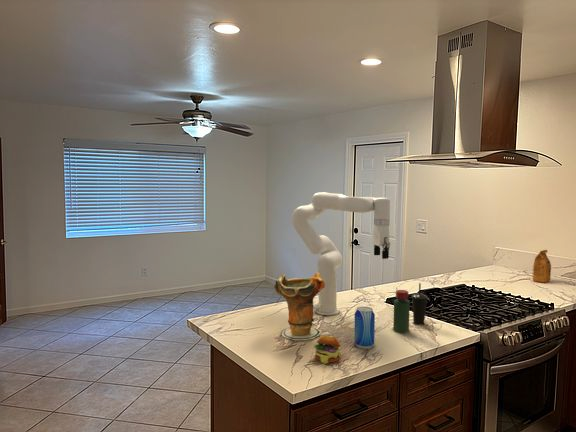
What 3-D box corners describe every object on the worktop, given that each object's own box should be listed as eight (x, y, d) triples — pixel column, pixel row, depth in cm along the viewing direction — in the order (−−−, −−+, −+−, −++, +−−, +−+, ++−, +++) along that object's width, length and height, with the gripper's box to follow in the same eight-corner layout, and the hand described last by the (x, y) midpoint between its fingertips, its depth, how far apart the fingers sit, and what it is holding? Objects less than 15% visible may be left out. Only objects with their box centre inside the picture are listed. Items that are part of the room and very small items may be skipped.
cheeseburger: (310, 362, 159) (312, 335, 161) (318, 358, 169) (319, 332, 170) (336, 365, 155) (337, 338, 157) (342, 361, 165) (343, 335, 167)
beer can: (352, 342, 179) (352, 306, 178) (371, 341, 180) (371, 305, 179) (356, 350, 171) (357, 312, 170) (376, 349, 172) (377, 311, 170)
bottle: (397, 333, 190) (398, 294, 188) (390, 328, 197) (391, 291, 195) (411, 332, 191) (412, 294, 190) (404, 327, 198) (405, 290, 197)
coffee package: (553, 281, 289) (554, 250, 287) (545, 284, 281) (547, 252, 280) (537, 278, 297) (539, 248, 295) (530, 281, 289) (531, 250, 287)
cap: (399, 299, 189) (399, 293, 189) (394, 296, 195) (394, 290, 194) (410, 298, 191) (410, 292, 190) (404, 295, 196) (404, 289, 196)
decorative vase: (275, 325, 200) (275, 268, 198) (323, 326, 199) (323, 268, 197) (272, 342, 179) (272, 278, 177) (325, 342, 179) (326, 279, 176)
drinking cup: (418, 326, 198) (419, 286, 197) (407, 322, 205) (408, 282, 203) (430, 324, 202) (431, 284, 200) (418, 319, 208) (419, 280, 207)
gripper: (367, 221, 211) (367, 254, 213) (382, 224, 195) (381, 260, 196) (381, 220, 213) (380, 253, 214) (396, 224, 196) (395, 259, 197)
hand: (381, 256), depth 205 cm, fingers open, 9 cm apart
